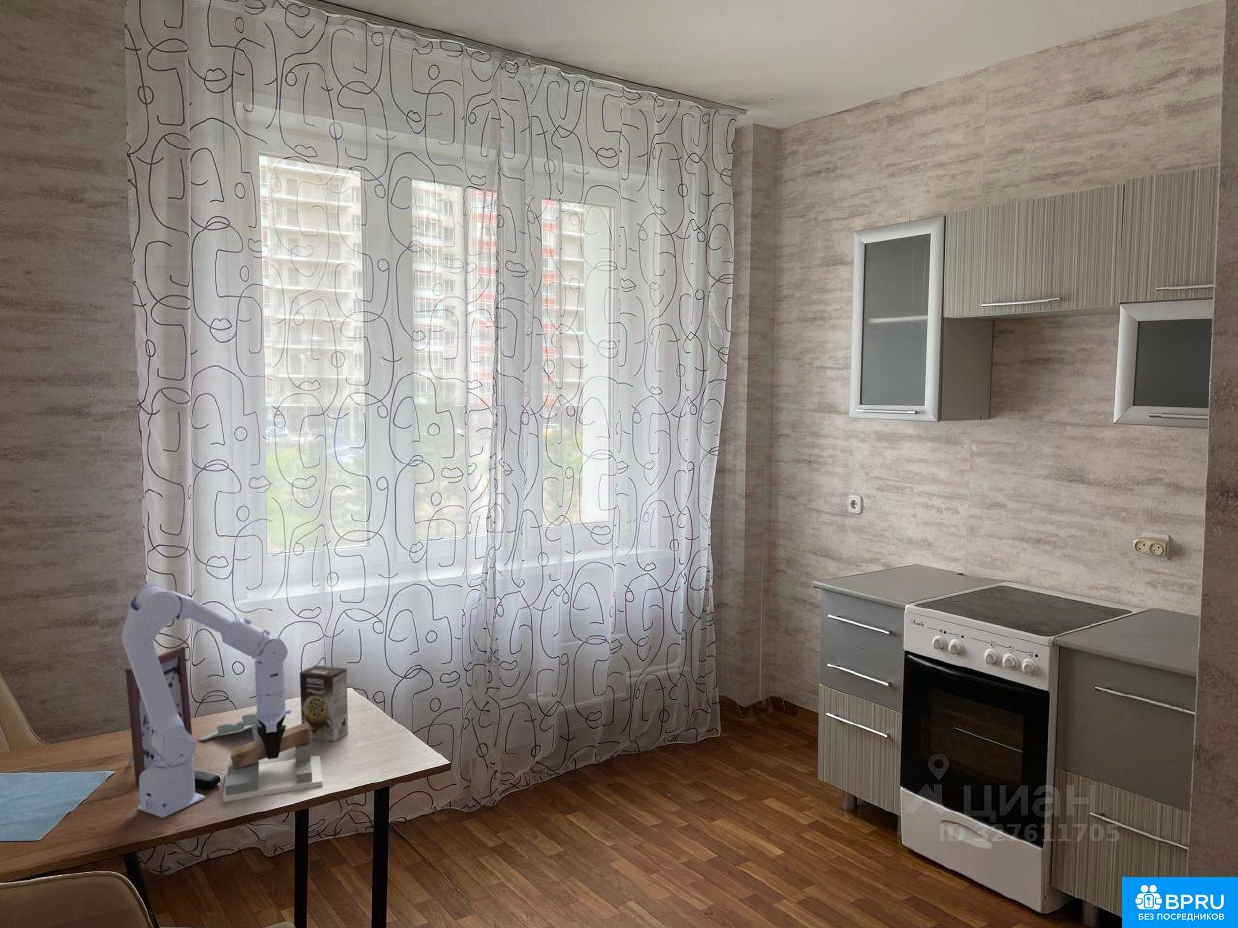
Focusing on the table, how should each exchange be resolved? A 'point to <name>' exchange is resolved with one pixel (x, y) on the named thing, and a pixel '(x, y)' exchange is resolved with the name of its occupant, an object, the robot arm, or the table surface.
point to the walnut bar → (257, 750)
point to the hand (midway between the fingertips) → (273, 752)
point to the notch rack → (273, 776)
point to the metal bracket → (238, 727)
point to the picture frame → (139, 718)
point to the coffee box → (324, 701)
